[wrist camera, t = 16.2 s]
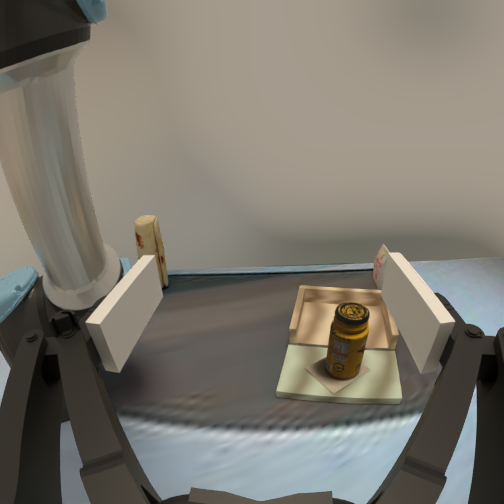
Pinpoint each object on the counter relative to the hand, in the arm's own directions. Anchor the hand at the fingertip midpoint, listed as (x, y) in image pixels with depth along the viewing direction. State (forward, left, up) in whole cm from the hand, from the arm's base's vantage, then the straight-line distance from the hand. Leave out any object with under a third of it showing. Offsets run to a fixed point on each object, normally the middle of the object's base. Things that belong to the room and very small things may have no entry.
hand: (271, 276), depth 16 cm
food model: (-41, +45, -30) cm, 68 cm away
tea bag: (+18, +57, -30) cm, 67 cm away
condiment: (+6, +22, -29) cm, 37 cm away
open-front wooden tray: (+7, +30, -30) cm, 43 cm away
